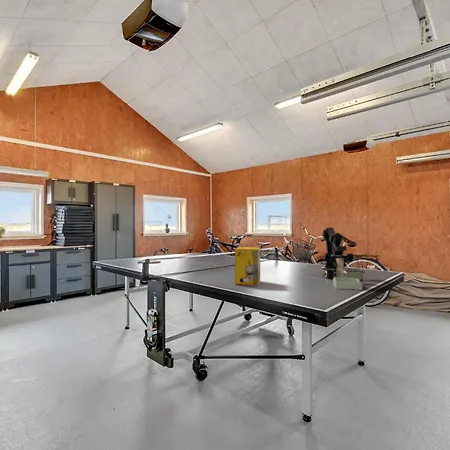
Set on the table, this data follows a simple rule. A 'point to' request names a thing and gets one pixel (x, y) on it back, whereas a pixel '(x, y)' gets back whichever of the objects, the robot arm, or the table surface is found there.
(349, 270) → the food container
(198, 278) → the table surface
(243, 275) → the packaging box
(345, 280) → the open box
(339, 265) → the maple peg
